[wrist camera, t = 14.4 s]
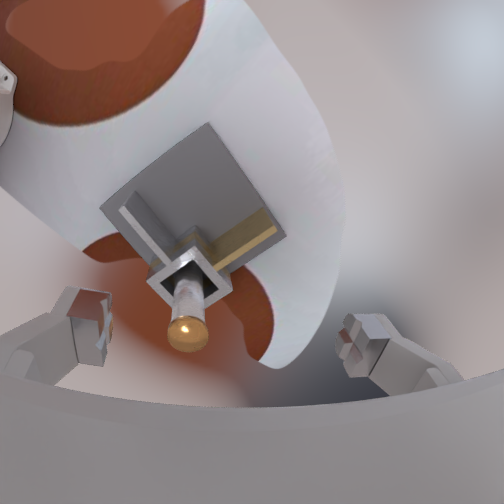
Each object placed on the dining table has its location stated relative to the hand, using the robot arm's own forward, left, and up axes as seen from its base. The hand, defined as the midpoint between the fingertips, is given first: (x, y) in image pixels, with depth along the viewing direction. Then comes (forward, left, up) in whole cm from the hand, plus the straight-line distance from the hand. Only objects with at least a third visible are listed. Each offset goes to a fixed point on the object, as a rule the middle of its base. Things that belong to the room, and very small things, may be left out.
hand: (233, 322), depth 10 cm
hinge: (+7, -7, -38) cm, 39 cm away
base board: (+7, -7, -39) cm, 40 cm away
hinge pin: (+12, -12, -38) cm, 41 cm away
